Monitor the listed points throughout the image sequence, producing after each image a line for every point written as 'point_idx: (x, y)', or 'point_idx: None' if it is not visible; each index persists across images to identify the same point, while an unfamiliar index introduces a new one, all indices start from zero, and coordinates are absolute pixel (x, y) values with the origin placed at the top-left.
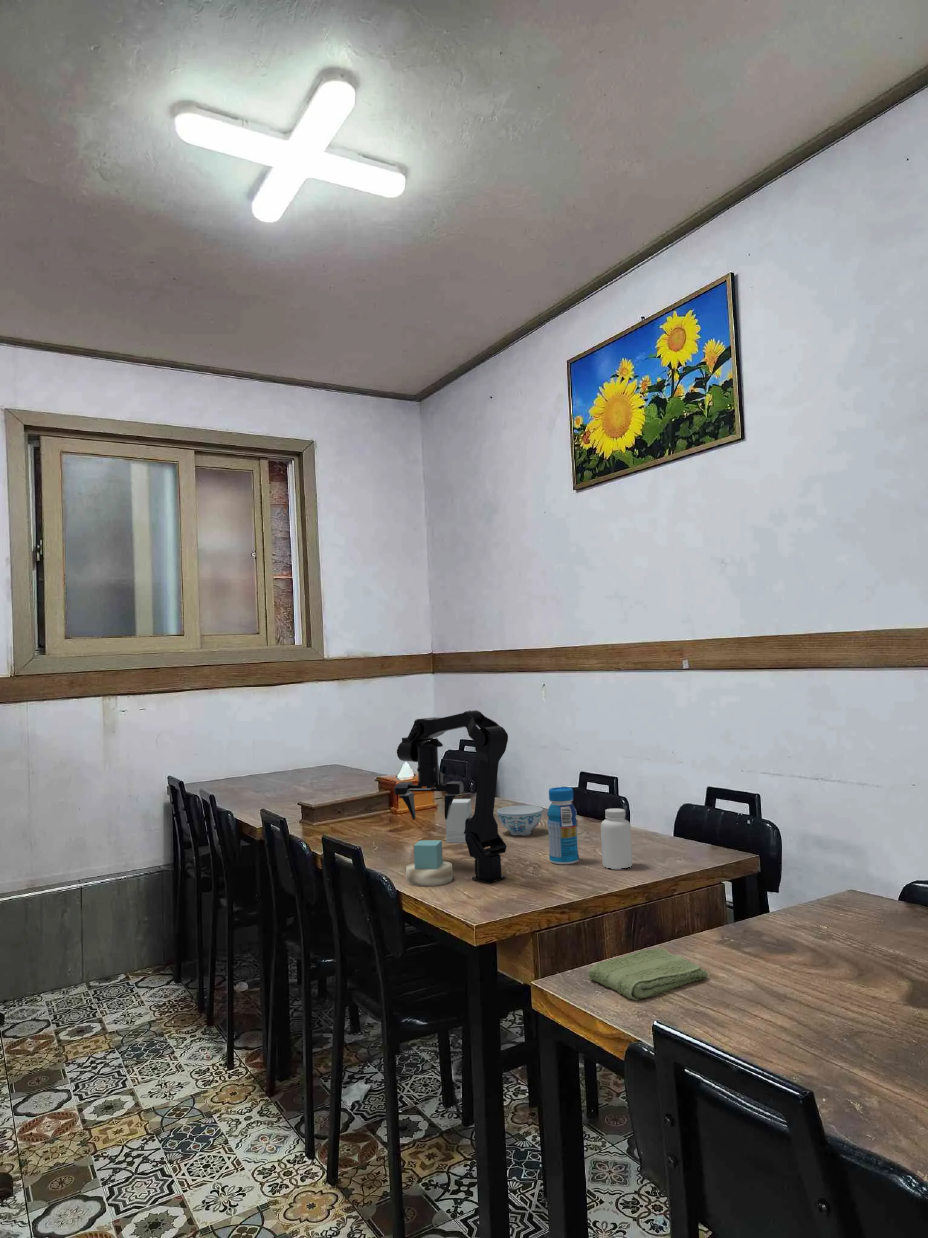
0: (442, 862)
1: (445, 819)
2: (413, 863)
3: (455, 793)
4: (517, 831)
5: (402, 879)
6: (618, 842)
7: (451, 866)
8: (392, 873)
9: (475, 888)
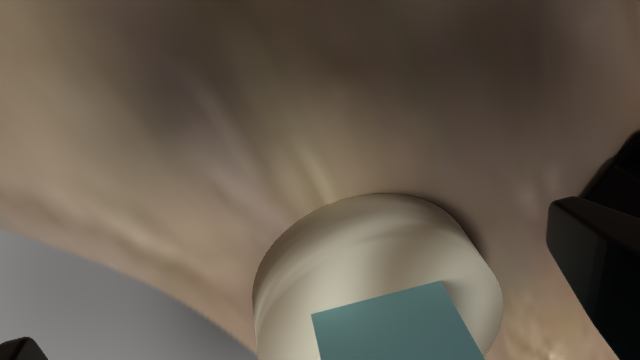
0: (442, 287)
1: (551, 243)
2: (271, 332)
3: None
4: None
5: (225, 318)
6: None
7: (502, 308)
8: (92, 255)
9: (586, 313)
